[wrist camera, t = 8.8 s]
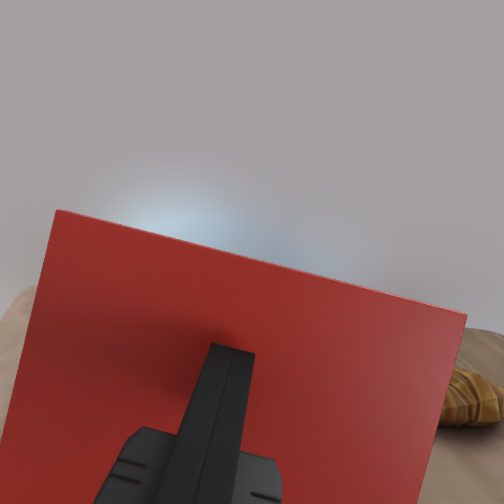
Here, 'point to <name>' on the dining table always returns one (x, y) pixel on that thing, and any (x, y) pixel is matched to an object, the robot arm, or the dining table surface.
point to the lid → (194, 354)
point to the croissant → (471, 401)
